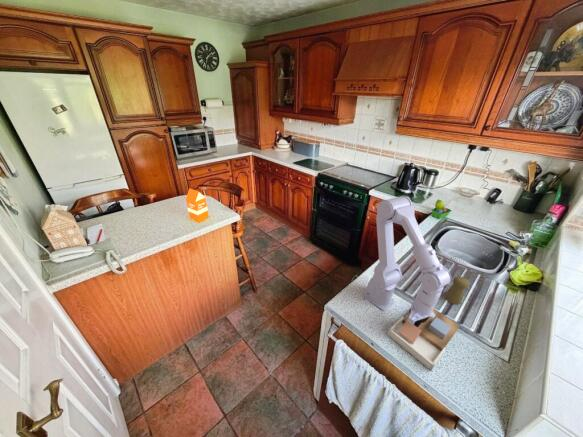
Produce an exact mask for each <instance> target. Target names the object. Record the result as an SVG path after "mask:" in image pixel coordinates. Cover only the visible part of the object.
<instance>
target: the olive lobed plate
mask: <svg viewBox="0 0 583 437" xmlns="http://www.w3.org/2000/svg"><path fill="white" fill-rule="evenodd" d="M469 287H470V281H469V280H468V279H467V278H465V277H463V276H461V275H460V276H455V277H454V278H453V283H452V284H451V285H450V288H449V289H447V291H446V292H445V294H444V299H445V300H446V301H447V302H449V303H450V304H452V305H460V304H462V300H463V296H464V294H465V291H466V290H467V289H468V288H469Z"/></svg>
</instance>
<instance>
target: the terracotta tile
mask: <svg viewBox="0 0 583 437" xmlns="http://www.w3.org/2000/svg"><path fill="white" fill-rule="evenodd" d="M421 331H422V330H420V329H419V328H418V327H416V326H415V325H412V324H410V323H409V322H408V321H406V323H405V324H404V326H403V327H402V329H401V330H400V332H399V333H400V334H402V335H403V336H404V337H406V338H407V339H408V340H410V341H411V342H412V343H415V341H416V339H417V338H418V336H419V335H420V333H421Z"/></svg>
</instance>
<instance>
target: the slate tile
mask: <svg viewBox="0 0 583 437" xmlns="http://www.w3.org/2000/svg"><path fill="white" fill-rule="evenodd" d="M428 329H429V330H430V331H432V332H433V333H434V334H436V335H437V336H439V337H440V338H441V339H444V338H445V336H446V335H447V334H448V332H449V331H450V329H451V326H449V325H448V324H446V323H445V322H443V321H442V320H440V319H439V318H437V317H436V318H435V320H434V321H433V322H432V323H431V324H430V326H429V328H428Z"/></svg>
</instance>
